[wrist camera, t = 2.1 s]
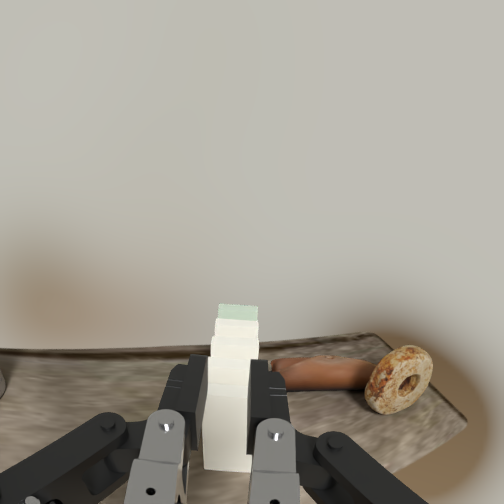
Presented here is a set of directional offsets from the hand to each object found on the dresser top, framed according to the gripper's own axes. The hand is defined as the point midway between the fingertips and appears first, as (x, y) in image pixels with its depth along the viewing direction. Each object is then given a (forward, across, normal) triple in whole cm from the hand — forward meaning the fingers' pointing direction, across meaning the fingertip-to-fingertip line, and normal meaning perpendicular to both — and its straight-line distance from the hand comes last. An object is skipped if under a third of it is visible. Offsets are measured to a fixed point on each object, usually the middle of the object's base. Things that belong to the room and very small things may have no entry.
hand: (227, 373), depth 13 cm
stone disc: (+19, -22, +22) cm, 37 cm away
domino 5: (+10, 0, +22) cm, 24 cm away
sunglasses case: (+27, -14, +23) cm, 38 cm away
